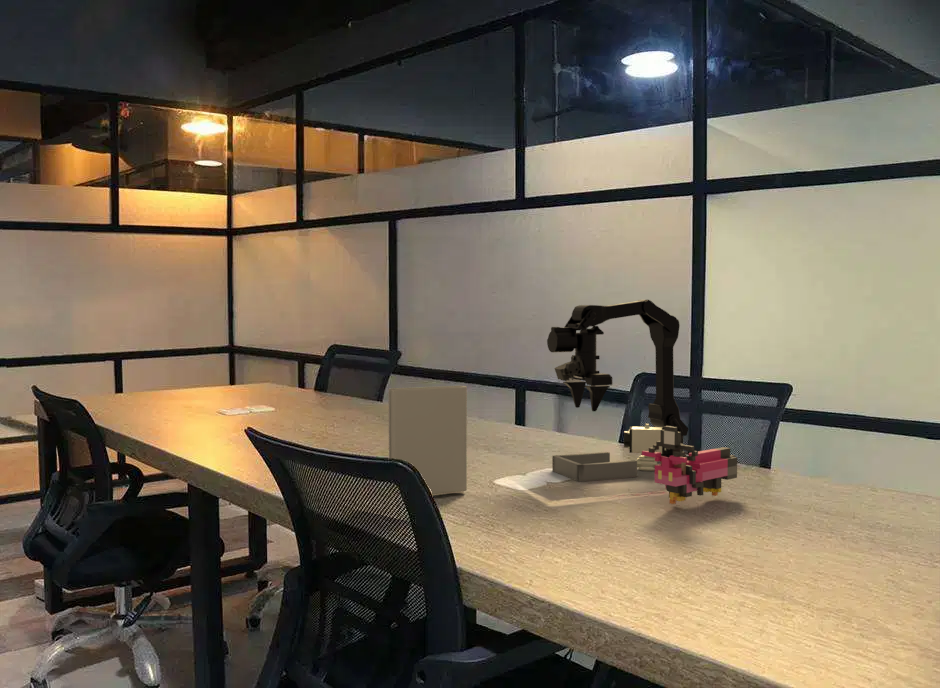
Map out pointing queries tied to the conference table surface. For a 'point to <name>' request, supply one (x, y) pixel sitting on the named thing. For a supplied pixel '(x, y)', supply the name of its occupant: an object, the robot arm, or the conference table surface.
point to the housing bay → (593, 467)
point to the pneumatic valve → (643, 444)
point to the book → (431, 434)
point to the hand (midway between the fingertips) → (585, 409)
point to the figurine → (690, 467)
